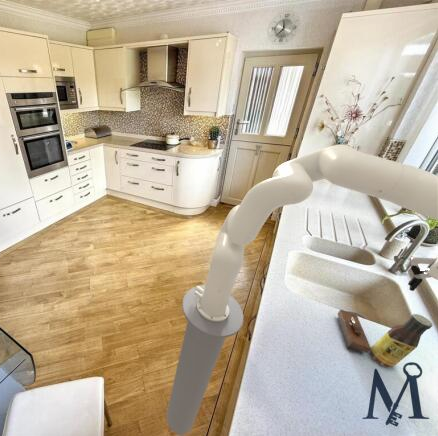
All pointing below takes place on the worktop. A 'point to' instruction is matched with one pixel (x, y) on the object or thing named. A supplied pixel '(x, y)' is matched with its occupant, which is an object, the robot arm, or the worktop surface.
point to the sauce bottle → (399, 341)
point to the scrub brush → (352, 332)
